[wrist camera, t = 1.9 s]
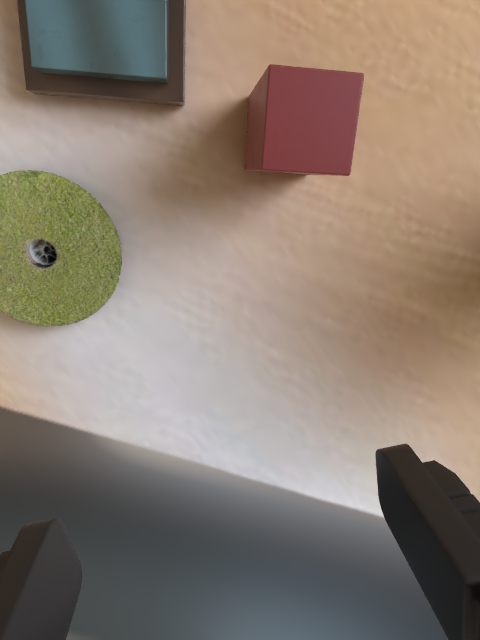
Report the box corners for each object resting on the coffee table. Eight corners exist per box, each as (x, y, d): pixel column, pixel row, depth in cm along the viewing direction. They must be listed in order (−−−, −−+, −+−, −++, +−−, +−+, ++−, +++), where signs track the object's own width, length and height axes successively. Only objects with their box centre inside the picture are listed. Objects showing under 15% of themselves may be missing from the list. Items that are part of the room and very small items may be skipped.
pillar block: (317, 101, 29) (364, 72, 21) (309, 174, 31) (350, 175, 23) (248, 95, 29) (269, 64, 20) (244, 170, 31) (261, 170, 22)
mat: (-22, 149, 28) (-37, 147, 27) (139, 196, 30) (135, 198, 29) (-35, 298, 32) (-50, 306, 30) (110, 332, 34) (105, 341, 32)
